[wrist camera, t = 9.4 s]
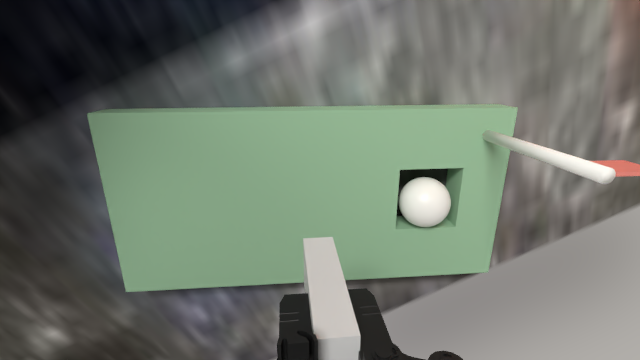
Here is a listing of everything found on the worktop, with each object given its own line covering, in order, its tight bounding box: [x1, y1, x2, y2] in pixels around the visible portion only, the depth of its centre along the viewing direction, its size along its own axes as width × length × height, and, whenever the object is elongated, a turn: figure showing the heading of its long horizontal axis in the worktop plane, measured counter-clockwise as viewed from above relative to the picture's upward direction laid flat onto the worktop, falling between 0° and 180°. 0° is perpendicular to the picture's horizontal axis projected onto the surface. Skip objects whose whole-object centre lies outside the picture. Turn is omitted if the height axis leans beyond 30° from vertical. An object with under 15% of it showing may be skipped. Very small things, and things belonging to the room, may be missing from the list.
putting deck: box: [87, 104, 640, 292], centre depth 22 cm, size 31×14×12 cm, turn 90°
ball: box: [399, 177, 451, 227], centre depth 27 cm, size 4×4×4 cm
